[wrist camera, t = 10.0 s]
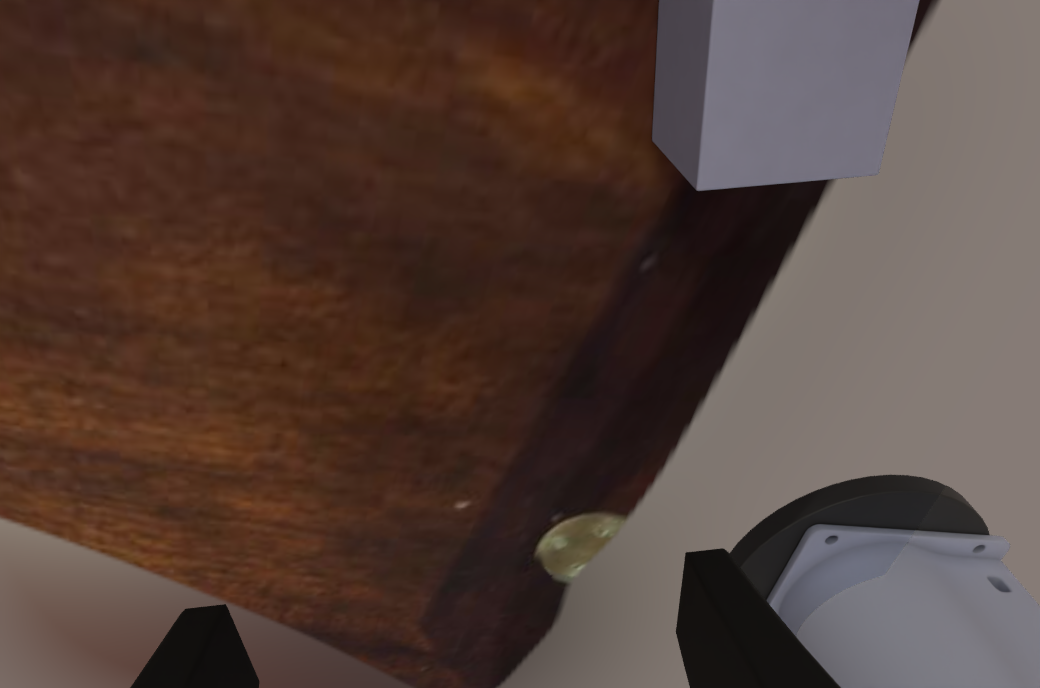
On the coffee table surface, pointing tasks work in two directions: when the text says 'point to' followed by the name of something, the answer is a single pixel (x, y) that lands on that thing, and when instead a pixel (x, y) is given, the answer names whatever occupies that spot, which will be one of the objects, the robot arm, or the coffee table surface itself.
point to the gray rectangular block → (777, 87)
